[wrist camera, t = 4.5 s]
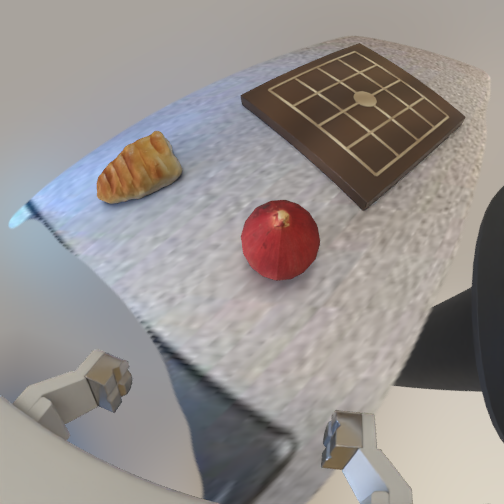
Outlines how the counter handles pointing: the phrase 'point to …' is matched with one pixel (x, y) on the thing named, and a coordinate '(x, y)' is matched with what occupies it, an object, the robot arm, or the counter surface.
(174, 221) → the counter surface
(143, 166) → the pastry
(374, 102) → the grid board
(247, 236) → the onion
